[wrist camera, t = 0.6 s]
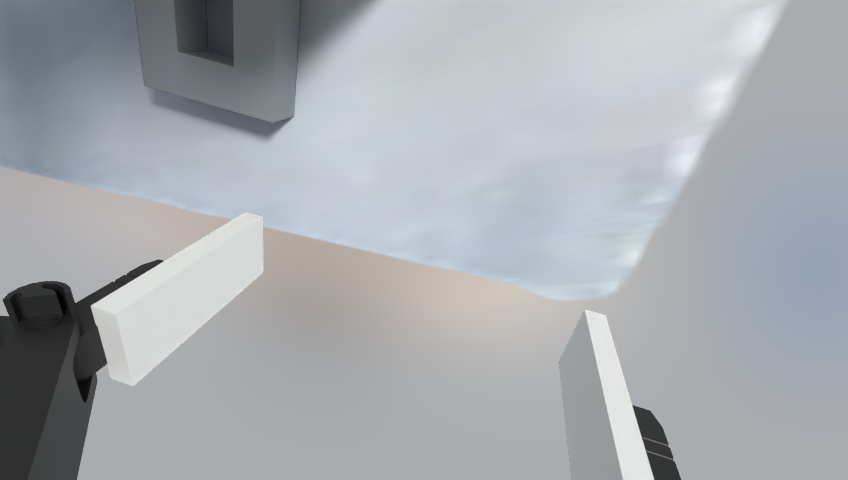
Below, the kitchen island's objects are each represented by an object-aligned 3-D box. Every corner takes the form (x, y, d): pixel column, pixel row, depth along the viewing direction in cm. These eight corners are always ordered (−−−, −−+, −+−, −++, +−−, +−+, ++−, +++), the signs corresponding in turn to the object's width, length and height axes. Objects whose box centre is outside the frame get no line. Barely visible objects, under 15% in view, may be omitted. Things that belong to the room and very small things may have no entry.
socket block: (162, -77, 36) (123, -90, 33) (303, -43, 35) (278, -53, 31) (175, 82, 43) (144, 85, 39) (294, 116, 41) (272, 122, 38)
